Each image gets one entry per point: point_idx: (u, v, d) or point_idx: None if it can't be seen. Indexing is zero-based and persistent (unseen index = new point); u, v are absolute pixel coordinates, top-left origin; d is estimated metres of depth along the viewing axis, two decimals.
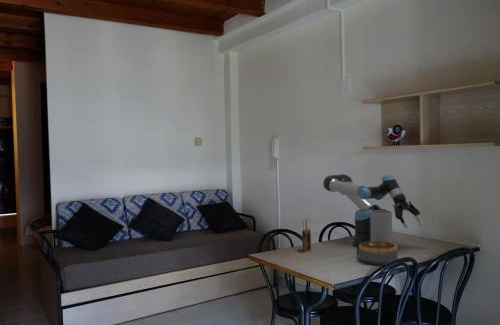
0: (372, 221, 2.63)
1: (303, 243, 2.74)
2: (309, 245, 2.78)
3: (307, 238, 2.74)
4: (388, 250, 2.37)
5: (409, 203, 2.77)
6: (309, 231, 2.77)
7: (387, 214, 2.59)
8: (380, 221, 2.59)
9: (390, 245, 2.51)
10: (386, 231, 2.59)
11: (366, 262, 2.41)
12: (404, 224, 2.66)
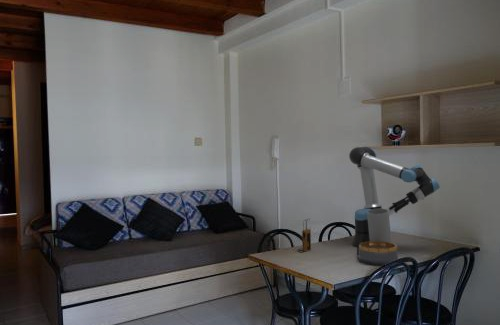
0: (369, 222, 2.61)
1: (303, 243, 2.74)
2: (309, 245, 2.78)
3: (307, 238, 2.74)
4: (388, 250, 2.37)
5: None
6: (309, 231, 2.77)
7: (384, 214, 2.57)
8: (377, 222, 2.57)
9: (390, 245, 2.51)
10: (384, 231, 2.58)
11: (366, 262, 2.41)
12: (387, 209, 2.66)
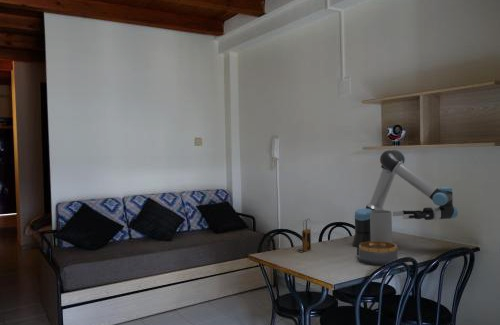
0: (372, 221, 2.63)
1: (303, 243, 2.74)
2: (309, 245, 2.78)
3: (307, 238, 2.74)
4: (388, 250, 2.37)
5: None
6: (309, 231, 2.77)
7: (386, 214, 2.59)
8: (379, 221, 2.59)
9: (390, 245, 2.51)
10: (385, 231, 2.59)
11: (366, 262, 2.41)
12: (407, 215, 2.59)
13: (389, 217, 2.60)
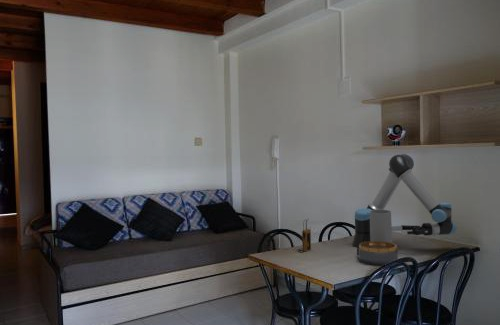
0: (371, 221, 2.63)
1: (303, 243, 2.74)
2: (309, 245, 2.78)
3: (307, 238, 2.74)
4: (388, 250, 2.37)
5: None
6: (309, 231, 2.77)
7: (386, 214, 2.58)
8: (379, 221, 2.59)
9: (390, 245, 2.51)
10: (385, 231, 2.59)
11: (366, 262, 2.41)
12: (405, 231, 2.59)
13: (389, 217, 2.59)
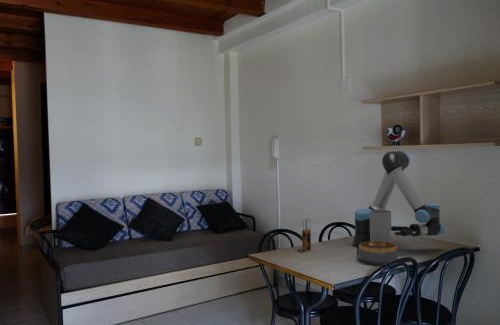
0: (371, 221, 2.63)
1: (303, 243, 2.74)
2: (309, 245, 2.78)
3: (307, 238, 2.74)
4: (388, 250, 2.37)
5: None
6: (309, 231, 2.77)
7: (386, 214, 2.59)
8: (379, 221, 2.59)
9: (390, 245, 2.51)
10: (385, 231, 2.59)
11: (366, 262, 2.41)
12: (393, 232, 2.58)
13: (389, 217, 2.60)
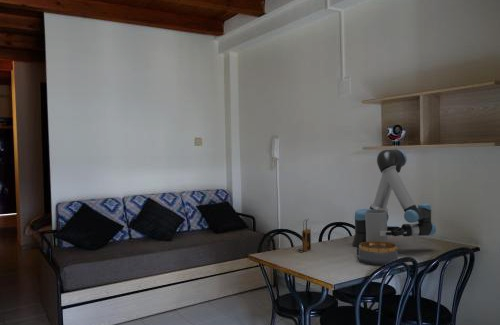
0: (369, 222, 2.61)
1: (303, 243, 2.74)
2: (309, 245, 2.78)
3: (307, 238, 2.74)
4: (388, 250, 2.37)
5: None
6: (309, 231, 2.77)
7: (384, 214, 2.59)
8: (379, 221, 2.58)
9: (390, 245, 2.51)
10: None
11: (366, 262, 2.41)
12: (384, 232, 2.58)
13: (386, 216, 2.61)
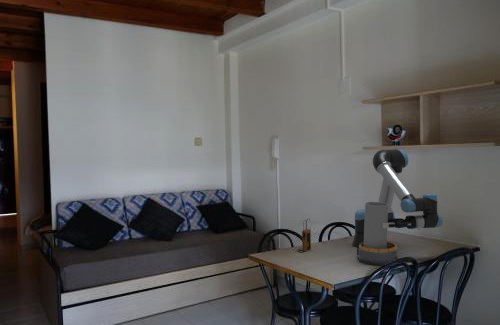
0: (368, 214, 2.43)
1: (303, 243, 2.74)
2: (309, 245, 2.78)
3: (307, 238, 2.74)
4: (388, 250, 2.37)
5: None
6: (309, 231, 2.77)
7: (385, 207, 2.41)
8: (378, 214, 2.40)
9: (390, 245, 2.51)
10: None
11: (366, 262, 2.41)
12: (386, 224, 2.39)
13: (387, 210, 2.42)
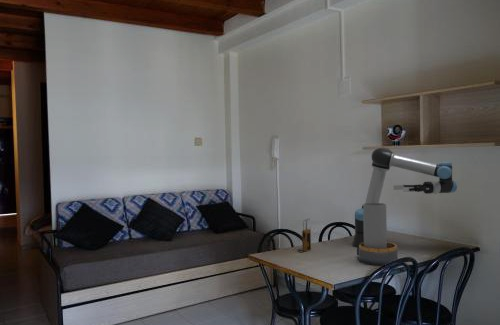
0: (366, 214, 2.44)
1: (303, 243, 2.74)
2: (309, 245, 2.78)
3: (307, 238, 2.74)
4: (388, 250, 2.37)
5: None
6: (309, 231, 2.77)
7: (383, 206, 2.41)
8: (376, 214, 2.41)
9: (390, 245, 2.51)
10: (382, 225, 2.41)
11: (366, 262, 2.41)
12: (407, 188, 2.65)
13: (385, 210, 2.43)
